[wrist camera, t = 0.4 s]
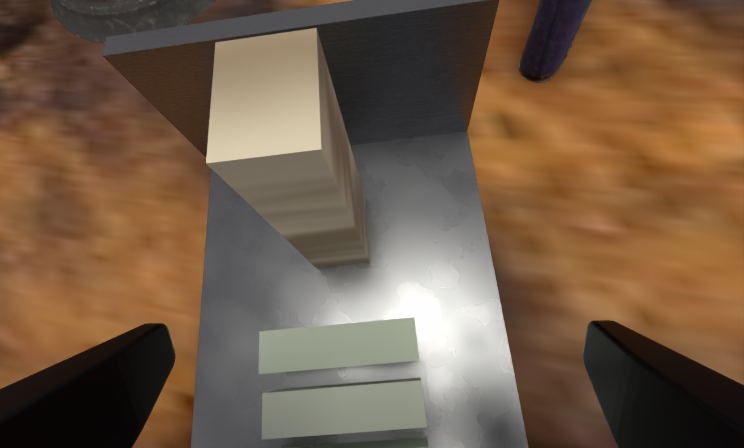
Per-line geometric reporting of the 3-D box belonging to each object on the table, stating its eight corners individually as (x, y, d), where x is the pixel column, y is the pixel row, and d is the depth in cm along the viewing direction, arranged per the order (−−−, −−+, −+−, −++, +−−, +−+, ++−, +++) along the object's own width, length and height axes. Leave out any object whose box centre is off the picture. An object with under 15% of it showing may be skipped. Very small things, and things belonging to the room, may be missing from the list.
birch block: (370, 262, 21) (321, 149, 10) (316, 268, 21) (205, 163, 10) (364, 196, 22) (316, 27, 11) (314, 201, 22) (215, 42, 11)
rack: (542, 551, 17) (712, 799, 7) (193, 569, 18) (-53, 806, 8) (462, 126, 24) (494, -21, 15) (219, 156, 25) (106, 36, 16)
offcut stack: (432, 482, 17) (436, 507, 14) (280, 492, 18) (255, 517, 15) (413, 323, 19) (414, 317, 17) (280, 335, 20) (259, 331, 17)
